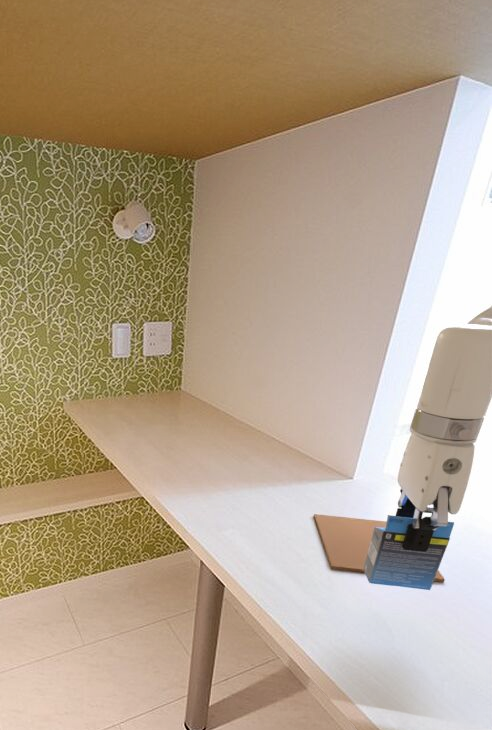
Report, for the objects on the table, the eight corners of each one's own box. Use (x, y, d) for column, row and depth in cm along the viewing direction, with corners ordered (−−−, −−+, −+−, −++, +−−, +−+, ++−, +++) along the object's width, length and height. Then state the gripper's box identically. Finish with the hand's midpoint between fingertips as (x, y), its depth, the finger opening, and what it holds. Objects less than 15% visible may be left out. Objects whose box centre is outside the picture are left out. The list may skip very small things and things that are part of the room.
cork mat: (405, 525, 99) (406, 523, 98) (443, 582, 81) (444, 579, 80) (313, 516, 102) (314, 513, 101) (331, 568, 84) (331, 565, 84)
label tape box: (421, 576, 69) (444, 508, 64) (431, 592, 66) (456, 522, 60) (362, 569, 71) (379, 503, 66) (368, 585, 67) (387, 516, 62)
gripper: (513, 450, 49) (462, 579, 57) (448, 407, 64) (414, 514, 72) (440, 445, 50) (400, 572, 58) (393, 404, 65) (366, 510, 73)
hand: (408, 539), depth 65 cm, fingers closed on label tape box, 3 cm apart
